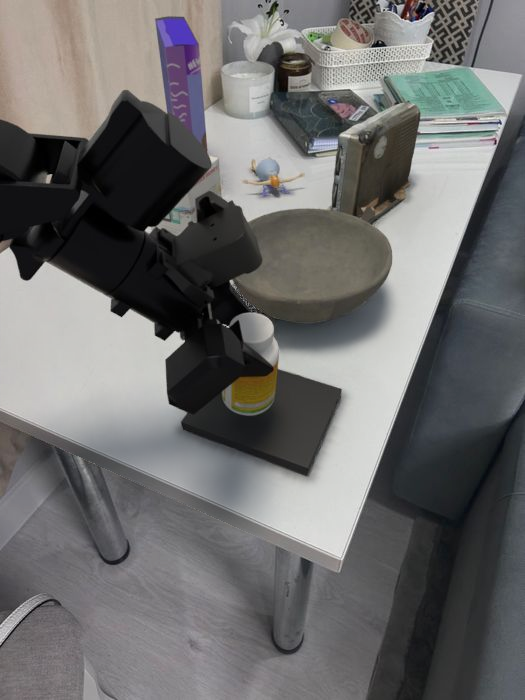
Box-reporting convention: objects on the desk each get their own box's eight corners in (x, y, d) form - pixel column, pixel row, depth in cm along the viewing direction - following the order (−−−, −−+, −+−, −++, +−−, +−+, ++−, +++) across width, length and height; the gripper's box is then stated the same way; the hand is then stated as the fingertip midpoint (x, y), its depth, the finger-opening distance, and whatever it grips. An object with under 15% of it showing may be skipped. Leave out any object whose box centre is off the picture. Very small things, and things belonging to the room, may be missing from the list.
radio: (389, 171, 97) (404, 86, 87) (430, 185, 93) (451, 98, 83) (312, 217, 85) (319, 126, 75) (355, 236, 81) (368, 142, 70)
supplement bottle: (285, 398, 52) (294, 330, 45) (245, 426, 50) (248, 358, 43) (250, 368, 55) (254, 298, 48) (210, 393, 52) (208, 323, 45)
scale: (180, 429, 54) (176, 411, 52) (229, 356, 62) (227, 338, 60) (307, 476, 50) (309, 458, 48) (342, 392, 58) (345, 374, 56)
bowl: (360, 370, 60) (370, 319, 55) (201, 326, 66) (195, 275, 60) (396, 271, 74) (407, 222, 69) (262, 242, 80) (262, 194, 74)
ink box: (182, 213, 86) (173, 144, 78) (225, 226, 83) (221, 156, 75) (150, 238, 81) (138, 166, 73) (196, 252, 78) (188, 179, 70)
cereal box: (211, 198, 90) (198, 43, 73) (184, 201, 89) (165, 45, 72) (197, 156, 102) (183, 15, 85) (173, 159, 101) (154, 16, 84)
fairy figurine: (290, 146, 97) (309, 166, 87) (290, 172, 100) (308, 194, 90) (230, 152, 95) (243, 174, 86) (232, 178, 98) (245, 202, 89)
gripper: (203, 262, 29) (363, 374, 38) (184, 131, 42) (306, 238, 51) (90, 374, 33) (257, 450, 42) (104, 224, 46) (230, 307, 55)
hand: (265, 350), depth 48 cm, fingers closed on supplement bottle, 5 cm apart
